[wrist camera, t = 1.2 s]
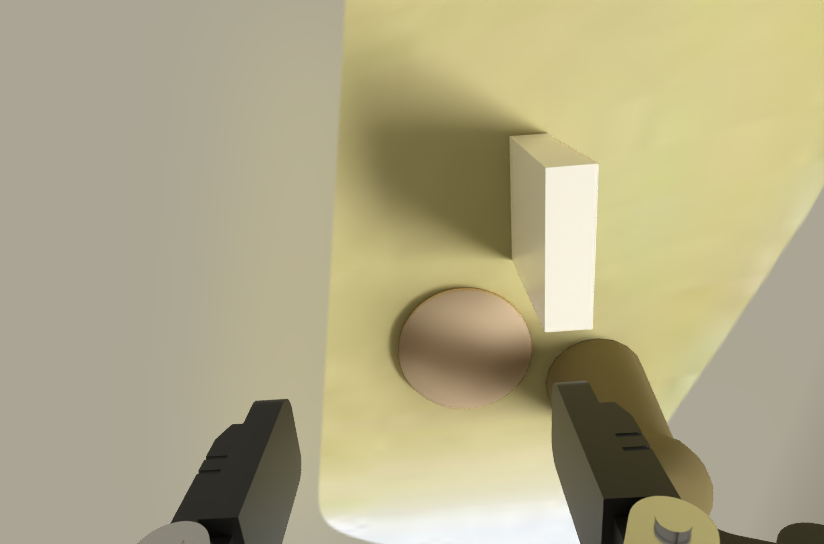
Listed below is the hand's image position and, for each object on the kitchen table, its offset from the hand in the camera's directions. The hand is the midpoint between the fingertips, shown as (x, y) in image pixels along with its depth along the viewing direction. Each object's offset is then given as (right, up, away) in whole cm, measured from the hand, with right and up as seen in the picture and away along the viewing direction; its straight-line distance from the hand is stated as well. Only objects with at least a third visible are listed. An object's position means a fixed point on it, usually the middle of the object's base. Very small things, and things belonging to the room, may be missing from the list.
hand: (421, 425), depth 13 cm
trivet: (+3, -1, +21) cm, 22 cm away
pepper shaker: (+11, -3, +22) cm, 25 cm away
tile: (+6, +8, +18) cm, 20 cm away
